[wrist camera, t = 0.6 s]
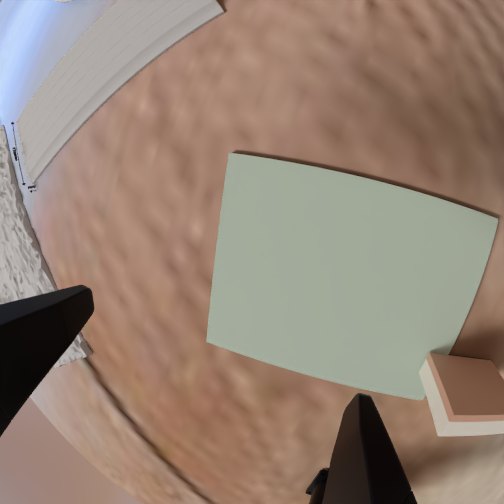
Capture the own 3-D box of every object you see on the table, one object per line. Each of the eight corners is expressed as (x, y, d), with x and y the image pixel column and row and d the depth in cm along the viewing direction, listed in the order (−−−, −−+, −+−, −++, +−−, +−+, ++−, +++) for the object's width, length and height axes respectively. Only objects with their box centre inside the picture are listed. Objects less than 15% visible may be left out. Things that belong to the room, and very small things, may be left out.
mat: (421, 397, 21) (422, 400, 20) (208, 339, 26) (206, 341, 26) (496, 218, 16) (498, 219, 15) (231, 152, 21) (229, 152, 21)
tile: (480, 378, 18) (507, 432, 12) (418, 372, 19) (437, 436, 13) (491, 360, 18) (522, 413, 11) (429, 352, 19) (453, 415, 12)
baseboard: (235, 26, 19) (189, -41, 17) (220, 12, 16) (174, -54, 15) (40, 193, 31) (24, 122, 30) (22, 196, 28) (8, 122, 27)
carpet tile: (-28, 215, 44) (-35, 217, 43) (7, 122, 32) (-3, 122, 30) (38, 373, 47) (31, 378, 45) (96, 351, 34) (86, 358, 33)
